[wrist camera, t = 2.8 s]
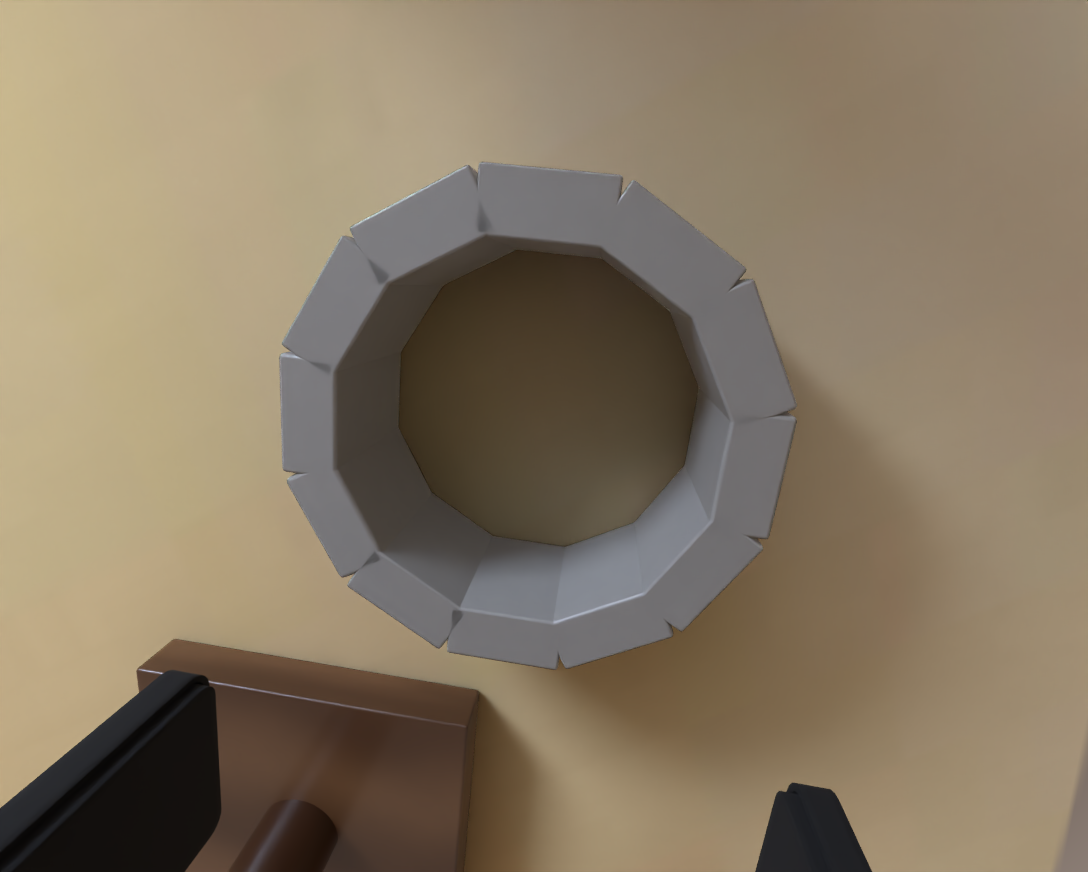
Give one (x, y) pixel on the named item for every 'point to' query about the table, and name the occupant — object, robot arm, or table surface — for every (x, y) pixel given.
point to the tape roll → (451, 538)
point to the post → (331, 765)
